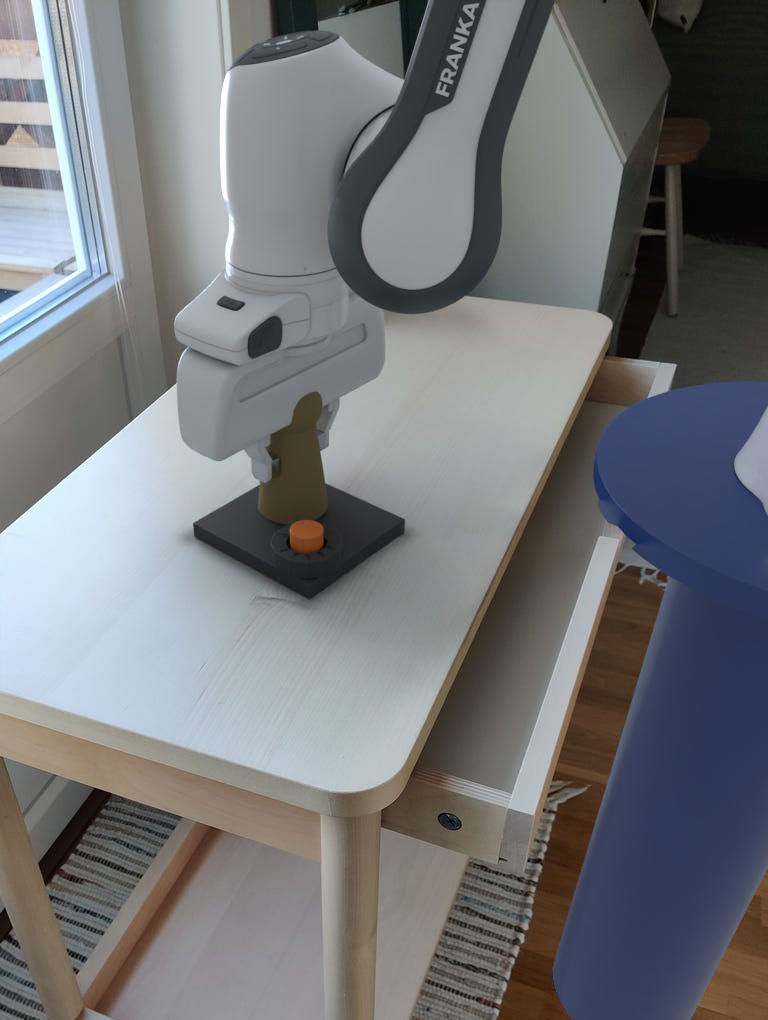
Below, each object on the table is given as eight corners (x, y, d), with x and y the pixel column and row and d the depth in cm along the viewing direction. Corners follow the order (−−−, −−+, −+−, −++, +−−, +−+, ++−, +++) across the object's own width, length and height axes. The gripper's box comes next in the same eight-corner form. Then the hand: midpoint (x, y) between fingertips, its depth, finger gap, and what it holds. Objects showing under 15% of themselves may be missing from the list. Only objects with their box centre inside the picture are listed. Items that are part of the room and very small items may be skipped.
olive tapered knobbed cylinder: (242, 504, 81) (234, 384, 74) (294, 478, 84) (290, 360, 77) (291, 533, 78) (286, 409, 71) (343, 504, 81) (344, 382, 74)
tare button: (330, 544, 75) (330, 527, 74) (308, 559, 73) (308, 542, 72) (305, 532, 76) (305, 515, 75) (283, 546, 74) (282, 529, 73)
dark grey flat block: (406, 534, 80) (409, 503, 78) (310, 602, 73) (309, 571, 71) (290, 480, 87) (289, 450, 85) (191, 538, 80) (188, 507, 78)
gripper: (346, 248, 77) (342, 406, 86) (155, 326, 66) (174, 499, 75) (409, 266, 74) (398, 428, 83) (219, 351, 62) (231, 528, 71)
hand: (290, 463), depth 78 cm, fingers closed on olive tapered knobbed cylinder, 5 cm apart
